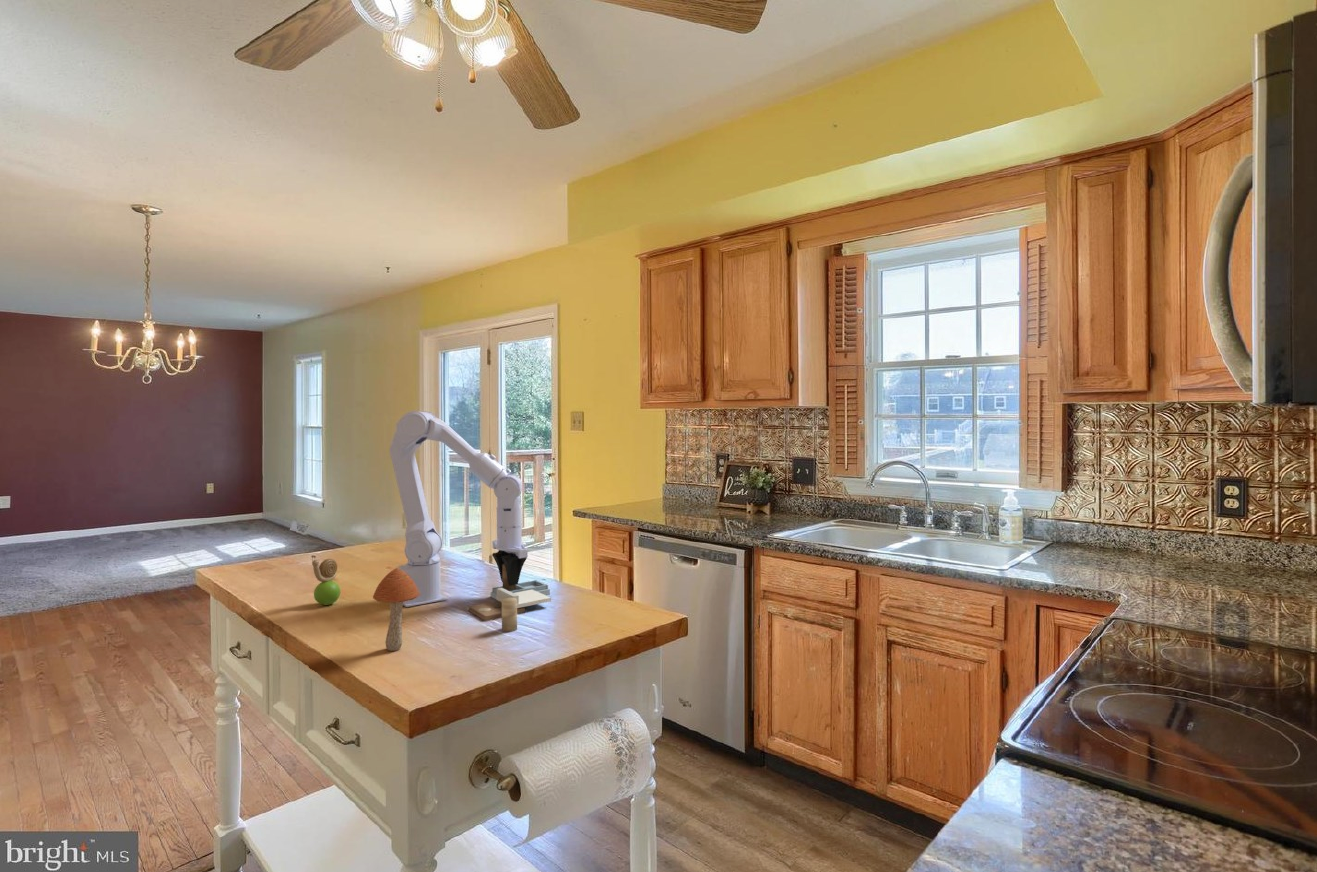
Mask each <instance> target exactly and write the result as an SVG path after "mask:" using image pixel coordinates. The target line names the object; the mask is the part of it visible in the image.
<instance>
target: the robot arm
mask: <svg viewBox="0 0 1317 872" xmlns="http://www.w3.org/2000/svg"><path fill="white" fill-rule="evenodd" d="M427 440H429V441H435V442H441V443H443V444H444V445H445V446H446V447H448V449H450V450H452V451H453V452H454V453H455V454H457V456H459V457H460V458H462V459H463V460H464V461H465V462H467V463H468V467H469V472H470V473H472V474H473V475H474V476H475V477H476V478H478V479H479V480H480V481H481V482H482V483H484V484H485V486H487V487H488V488H489V489H493V493H494V495H495V497H496V500H497V502H496V505H497V506H496V539H495V540H491V541H492V543H491V544H492V550H493V549H494V550H497V552H492V557H493V560H494V561H495V563H496V565H497V569H498V573H499V577H500V580H501V583H503V575H502V564H505V568H506V572H507V581H508V585H509V586H512V585H517V584H518V583H519V581H520V576H521V573H522V572H521V571H522V569H523V566H524V564H525V562H526V560H527V558H528V556H529V555H528V551H529V550H528V548H527V547H526V546H527V543H526V542H524V541H523V540H522V539H523V538H522V536H523V535H522V529H523V528H522V524H523V523H522V504H521V503H522V499H521V495H520V494H521V493H522V490H523V481H522V479H520V478H519V476H518V475H517V474H515V473H511V472H512V470H511V469H510V468H507V469H506V468H505V467H504V466H503V465H502V464H500V463H499V462H498V460H497V457H496V456H495V454H493V453H491V454H489V453H487V452H478V451H477V450H476V449H475V448H474V447H473V446H472V445H470V443H468V442H467V441H466V440H465V439H464V438H463V437H462V436H461V435H459V433H457V432H456V431H455V430H454V429H453V428H452V427H450V425H448V424H447V423H446V422H445V421H444V420H442V419H440V418H439V417H436V416H435V415H434V413H432V412H430V411H426V410H425V411H418V410H411V411H408V412H406V413H405V414H404V415H402V417H400V419H399V420H398V421H397V422H396V423H395V432H394V435H393V437H392V440H391V443H390V447H389V455H390V459H391V462H392V468H393V471H394V475H395V479H396V483H397V488H398V491H399V492H398V493H399V495H400V500H401V506H402V509H403V514H404V518H405V521H406V522H405V523H406V528H405V533H404V537H405V547H404V555H405V558H406V559H407V563H405V564H402V565H401V564H400V565H399V566H398V567H397V568H398V569H400V570H402V571H404V572H405V573H406V574H407V575H409V576H410V578H411V579H412V580H413V581H414V583H415V585H416V586H417V589H418V591H419V596H418V597H417V598H415V599H413V600H409V601H404V602H403V607H405V608H409V607H414V606H420V605H425V604H432V603H435V602H442V601H446V600H448V597H447V596H445V595H443V594H442V587H441V586H442V582H441V581H442V580H441V579H442V577H441V571H442V570H441V568H442V567H441V566H442V565H441V564H442V563H441V557H440V555H439V552H441V550H442V548H443V539H442V535H441V534H440V533H438V531H437V529H436V526H435V523H434V522H433V521H432V519H431V517H430V515H429V509H428V505H427V500H426V497H425V496H426V495H425V491H424V488H423V484H422V480H421V476H420V472H419V466H418V462H417V459H416V452H417V451H418V450H419V448H420V447H421V446H422V444H423V443H424V442H425V441H427Z"/></svg>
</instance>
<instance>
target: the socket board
mask: <svg viewBox="0 0 1317 872" xmlns="http://www.w3.org/2000/svg"><path fill="white" fill-rule="evenodd" d="M497 588H503V585H500V586H495V587H492V589H491V591H490V598H492V599H494V600H496V596H497ZM550 589H551V588H549V585H548V584H546V583H544V582H541V581H539V580H537V579H535V580H529V581H523V582H518V584H517V585H516V590H514V591H510V592H512V593H516V592H521V591H526V590H534V591H537V592H539V593H541V594H544V595H546V596H548V595H550V594H551V590H550Z"/></svg>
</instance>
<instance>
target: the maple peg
mask: <svg viewBox="0 0 1317 872" xmlns="http://www.w3.org/2000/svg"><path fill="white" fill-rule="evenodd" d="M517 630H518V614H517V599H516V598H505V599H502V618H501V631H502V632H505V633H511V632H515V631H517Z"/></svg>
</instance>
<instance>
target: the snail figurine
mask: <svg viewBox="0 0 1317 872" xmlns="http://www.w3.org/2000/svg"><path fill="white" fill-rule="evenodd" d="M316 558H317V555H313V554H312V555H311V560H312V562H311V565H312V567H313V573H314V576H315V578H316V580H317V581H319V583H318V584H317V586H315V588H314V591H313V597H314V600H315V601H316V602H317V603H318V604H320V605H322V606H330V605H332V604H334V603H336V602H337V601H338V599H339V598H340V596H341V591H342V590H341V587H340V585H339V584H338V583H337V582H336V581H334V579H335V578H336V576H337V572H338V563H337V562H336V561H335V560H334V559H333V558H327V559H324V560H323V561H322V562H321V563H319V560H318V559H316Z"/></svg>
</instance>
